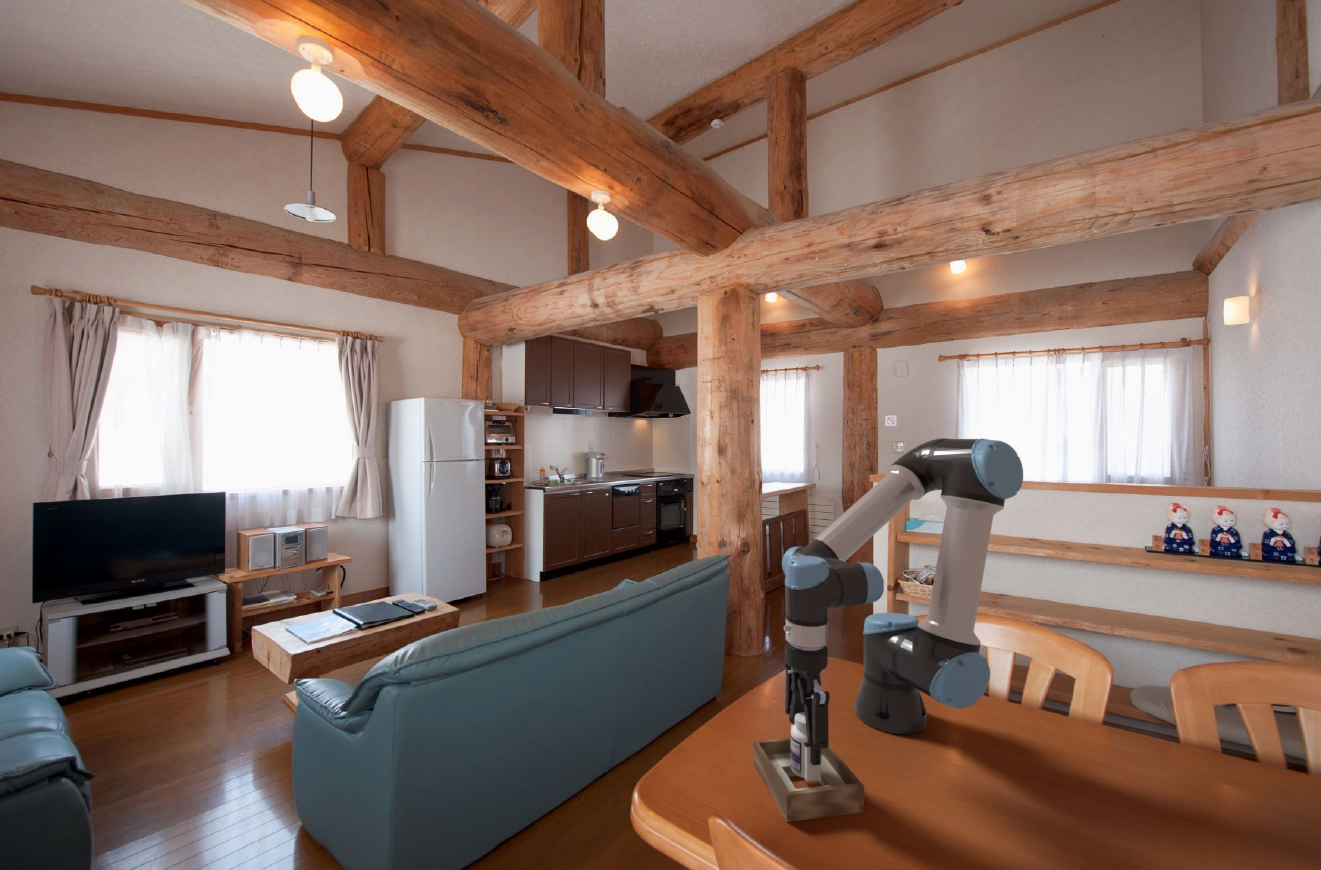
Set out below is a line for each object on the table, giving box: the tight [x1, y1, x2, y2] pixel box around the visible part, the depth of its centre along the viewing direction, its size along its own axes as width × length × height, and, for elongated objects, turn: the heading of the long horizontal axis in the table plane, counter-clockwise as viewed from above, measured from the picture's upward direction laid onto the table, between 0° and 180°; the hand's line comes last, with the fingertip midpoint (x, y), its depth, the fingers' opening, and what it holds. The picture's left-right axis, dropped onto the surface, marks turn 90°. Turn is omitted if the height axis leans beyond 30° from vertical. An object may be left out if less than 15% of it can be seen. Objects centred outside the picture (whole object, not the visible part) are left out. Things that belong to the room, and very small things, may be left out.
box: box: [752, 736, 865, 823], centre depth 100 cm, size 14×16×4 cm
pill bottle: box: [790, 712, 808, 779], centre depth 100 cm, size 5×5×10 cm
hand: (805, 768), depth 100 cm, fingers closed on pill bottle, 5 cm apart
